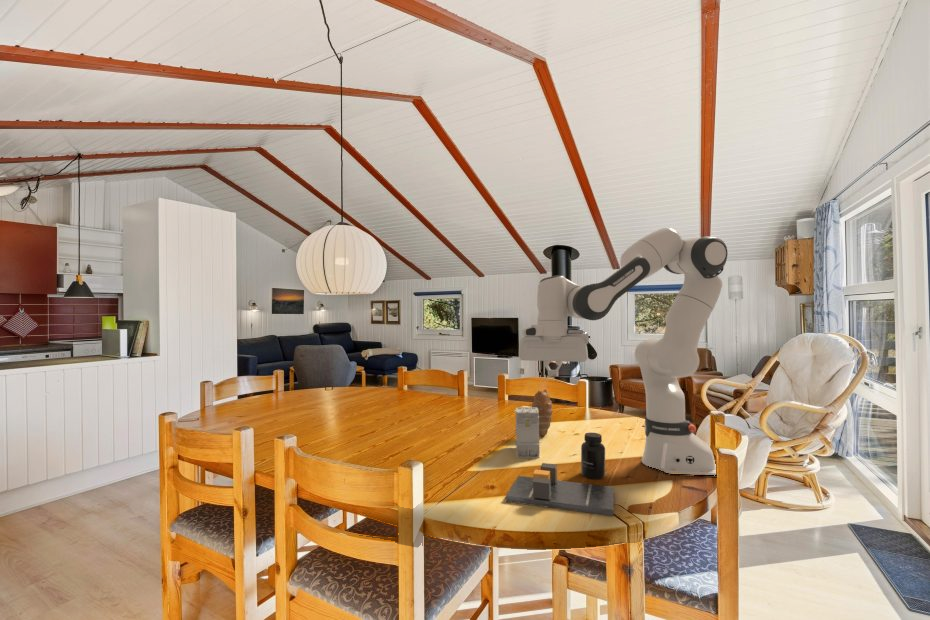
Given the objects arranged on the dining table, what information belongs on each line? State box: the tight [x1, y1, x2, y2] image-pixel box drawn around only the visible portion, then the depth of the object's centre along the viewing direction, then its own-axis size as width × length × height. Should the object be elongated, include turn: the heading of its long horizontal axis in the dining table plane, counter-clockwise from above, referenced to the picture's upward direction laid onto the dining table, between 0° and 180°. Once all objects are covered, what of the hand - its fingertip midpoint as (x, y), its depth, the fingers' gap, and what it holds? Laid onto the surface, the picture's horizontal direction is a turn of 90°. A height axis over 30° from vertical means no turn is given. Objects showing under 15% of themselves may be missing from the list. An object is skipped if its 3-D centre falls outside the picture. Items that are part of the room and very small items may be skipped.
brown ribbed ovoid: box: [531, 388, 553, 437], centre depth 169 cm, size 9×8×18 cm
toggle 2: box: [533, 477, 551, 500], centre depth 111 cm, size 4×3×4 cm
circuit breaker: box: [515, 406, 541, 459], centre depth 152 cm, size 8×14×15 cm, turn 174°
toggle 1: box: [540, 462, 558, 483], centre depth 121 cm, size 4×3×4 cm
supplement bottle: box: [580, 432, 606, 480], centre depth 129 cm, size 7×7×12 cm
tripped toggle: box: [532, 469, 550, 481], centre depth 116 cm, size 4×3×4 cm
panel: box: [505, 475, 615, 517], centre depth 114 cm, size 26×14×2 cm, turn 70°
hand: (553, 376), depth 131 cm, fingers closed
